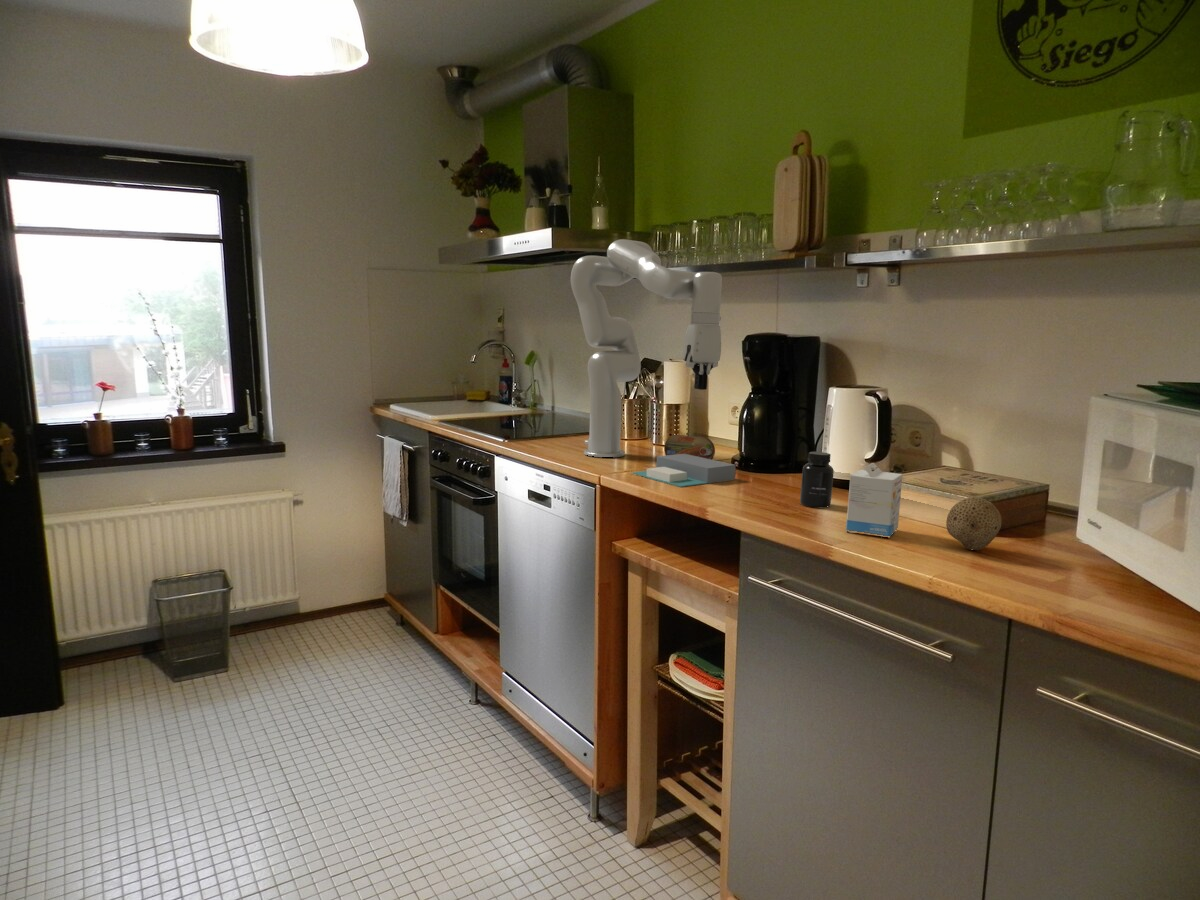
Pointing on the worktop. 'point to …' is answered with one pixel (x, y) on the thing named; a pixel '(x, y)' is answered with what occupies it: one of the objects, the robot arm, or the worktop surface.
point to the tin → (690, 446)
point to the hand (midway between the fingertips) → (700, 388)
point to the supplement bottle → (817, 480)
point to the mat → (677, 483)
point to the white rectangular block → (666, 474)
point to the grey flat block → (698, 467)
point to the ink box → (874, 501)
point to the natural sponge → (974, 522)
